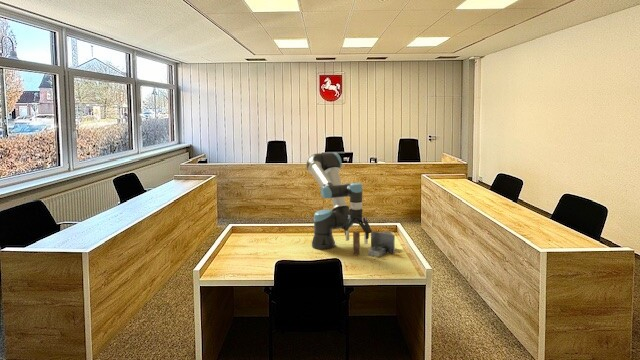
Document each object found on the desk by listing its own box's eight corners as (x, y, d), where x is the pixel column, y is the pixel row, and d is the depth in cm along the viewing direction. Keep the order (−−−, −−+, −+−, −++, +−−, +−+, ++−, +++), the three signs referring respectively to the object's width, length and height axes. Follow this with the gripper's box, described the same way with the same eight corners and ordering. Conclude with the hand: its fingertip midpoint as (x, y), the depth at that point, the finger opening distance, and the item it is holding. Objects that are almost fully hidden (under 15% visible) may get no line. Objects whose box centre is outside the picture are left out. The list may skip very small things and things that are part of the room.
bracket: (362, 253, 329) (362, 235, 327) (372, 249, 338) (372, 230, 336) (384, 258, 319) (384, 239, 317) (394, 253, 329) (394, 234, 326)
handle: (352, 254, 329) (351, 232, 326) (355, 252, 332) (355, 230, 329) (357, 255, 326) (357, 233, 324) (361, 253, 329) (360, 231, 327)
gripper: (336, 207, 328) (336, 240, 332) (370, 212, 313) (370, 246, 317) (342, 205, 334) (343, 237, 338) (377, 209, 319) (377, 243, 323)
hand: (356, 242), depth 327 cm, fingers open, 13 cm apart
